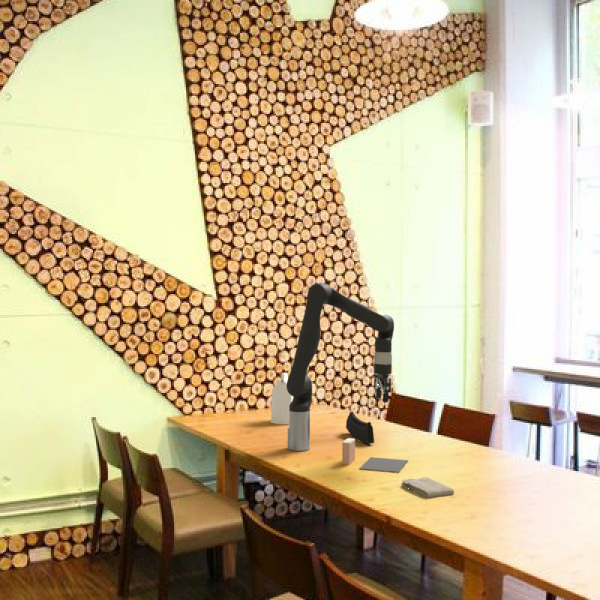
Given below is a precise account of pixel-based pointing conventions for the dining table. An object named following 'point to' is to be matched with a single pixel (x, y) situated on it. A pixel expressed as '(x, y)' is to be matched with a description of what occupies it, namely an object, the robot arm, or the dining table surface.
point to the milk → (281, 401)
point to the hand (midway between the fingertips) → (381, 400)
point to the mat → (384, 464)
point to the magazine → (360, 429)
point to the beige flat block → (348, 451)
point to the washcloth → (427, 487)
